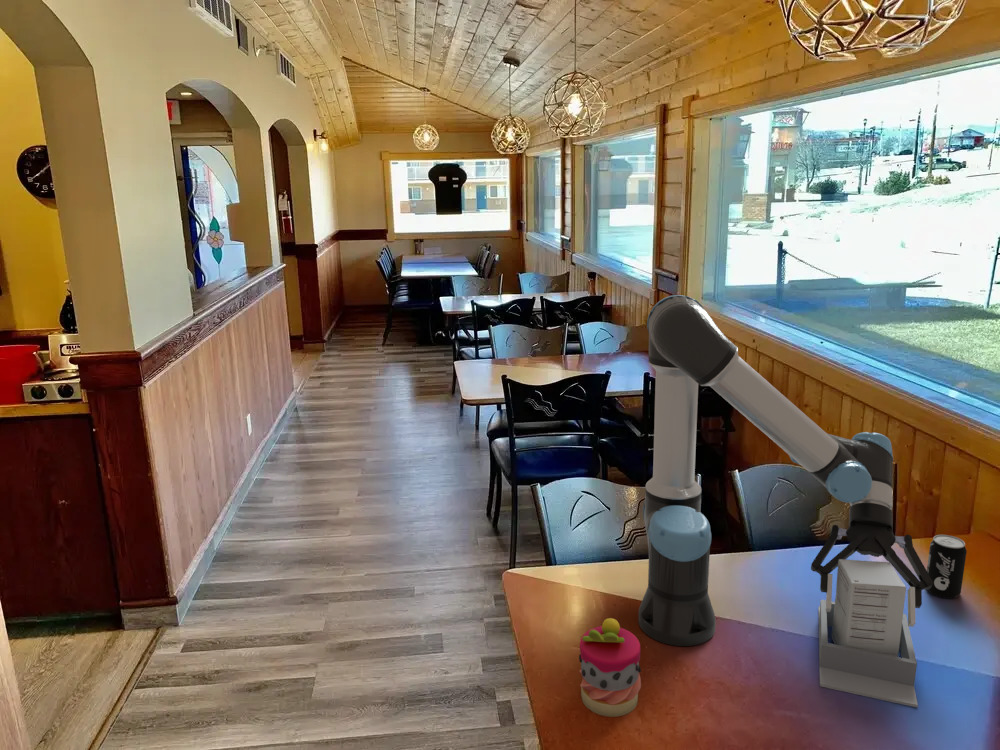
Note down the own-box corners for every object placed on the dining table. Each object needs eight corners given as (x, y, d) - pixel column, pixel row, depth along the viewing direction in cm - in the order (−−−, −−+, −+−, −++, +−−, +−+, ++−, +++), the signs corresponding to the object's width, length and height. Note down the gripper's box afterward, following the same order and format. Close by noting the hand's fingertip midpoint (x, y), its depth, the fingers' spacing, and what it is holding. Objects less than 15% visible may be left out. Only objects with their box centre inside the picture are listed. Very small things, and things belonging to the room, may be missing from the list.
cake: (578, 675, 129) (578, 602, 125) (637, 678, 128) (639, 604, 124) (579, 716, 119) (579, 638, 115) (642, 719, 118) (644, 640, 114)
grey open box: (819, 686, 125) (822, 661, 123) (818, 608, 148) (820, 586, 146) (917, 707, 119) (921, 681, 118) (900, 623, 142) (902, 600, 141)
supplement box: (898, 671, 128) (908, 587, 124) (843, 666, 130) (851, 583, 125) (881, 639, 137) (890, 560, 133) (830, 635, 139) (837, 557, 135)
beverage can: (967, 599, 149) (974, 547, 146) (935, 600, 149) (942, 548, 146) (948, 583, 156) (955, 533, 153) (918, 583, 156) (924, 533, 153)
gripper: (940, 524, 138) (944, 636, 128) (801, 506, 147) (794, 609, 137) (948, 510, 131) (953, 626, 122) (802, 492, 141) (796, 599, 131)
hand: (869, 617), depth 130 cm, fingers open, 13 cm apart
